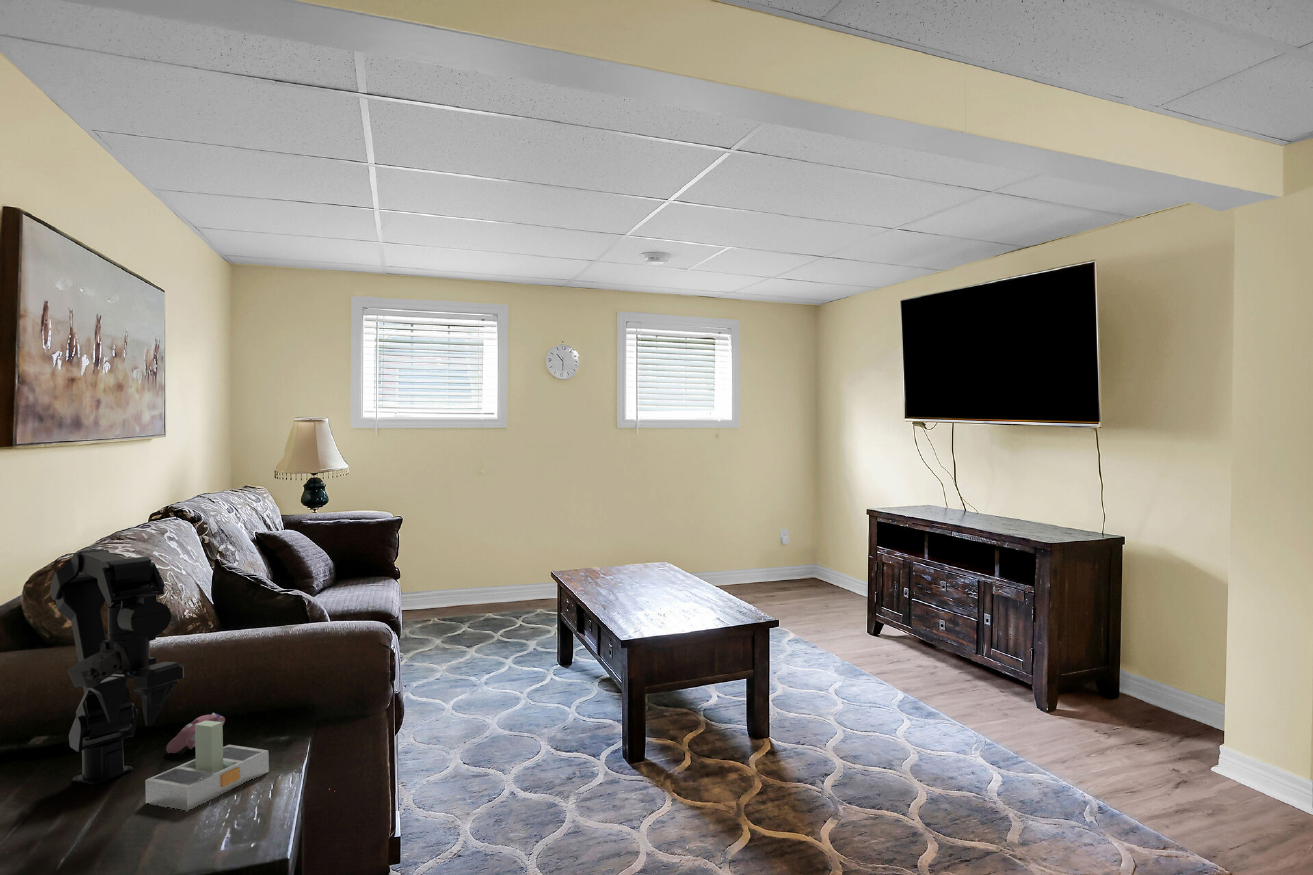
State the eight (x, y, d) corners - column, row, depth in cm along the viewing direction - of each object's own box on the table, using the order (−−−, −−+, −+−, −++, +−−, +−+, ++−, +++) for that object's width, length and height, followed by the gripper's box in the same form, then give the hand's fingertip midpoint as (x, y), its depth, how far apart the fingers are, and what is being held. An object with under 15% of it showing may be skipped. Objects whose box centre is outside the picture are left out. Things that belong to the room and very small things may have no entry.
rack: (145, 802, 117) (145, 779, 117) (229, 765, 131) (229, 744, 131) (188, 811, 113) (188, 787, 113) (270, 771, 127) (269, 750, 127)
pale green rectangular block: (196, 782, 122) (194, 724, 122) (207, 777, 124) (205, 720, 124) (212, 785, 120) (211, 726, 121) (223, 780, 122) (222, 722, 122)
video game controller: (180, 763, 136) (193, 731, 136) (162, 752, 137) (175, 720, 137) (220, 743, 146) (232, 713, 146) (203, 732, 147) (215, 702, 147)
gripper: (39, 641, 117) (41, 737, 116) (116, 644, 110) (118, 745, 110) (111, 626, 127) (113, 713, 126) (185, 628, 121) (187, 720, 120)
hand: (130, 723), depth 120 cm, fingers open, 9 cm apart
